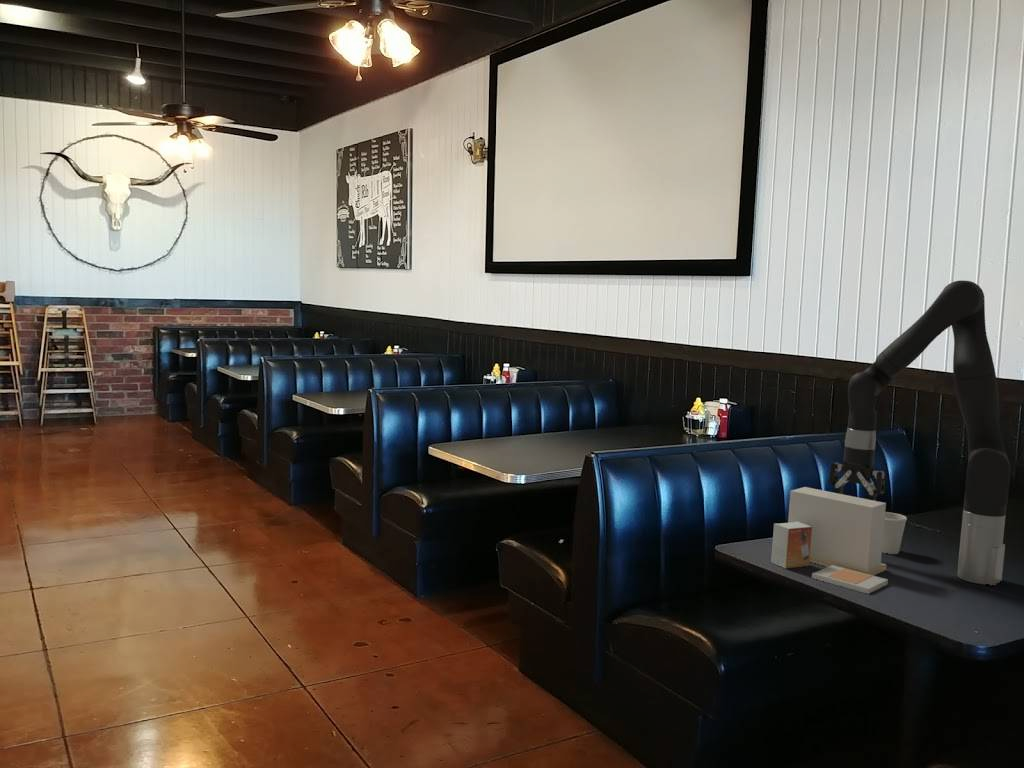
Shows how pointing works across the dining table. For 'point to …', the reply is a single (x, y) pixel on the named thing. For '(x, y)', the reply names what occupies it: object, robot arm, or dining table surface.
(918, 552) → the dining table surface
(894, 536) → the dixie cup
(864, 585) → the pad
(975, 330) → the robot arm
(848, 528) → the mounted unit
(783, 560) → the small box
